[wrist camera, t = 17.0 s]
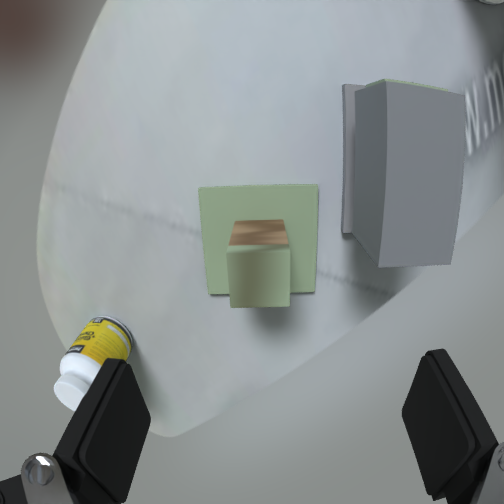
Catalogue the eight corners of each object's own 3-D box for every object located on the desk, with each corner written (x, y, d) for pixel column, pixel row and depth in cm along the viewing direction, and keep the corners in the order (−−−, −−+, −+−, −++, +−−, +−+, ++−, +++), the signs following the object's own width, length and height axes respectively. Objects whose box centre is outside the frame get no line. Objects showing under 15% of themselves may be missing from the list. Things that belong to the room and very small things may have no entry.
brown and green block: (283, 219, 30) (290, 251, 23) (283, 263, 32) (289, 306, 24) (234, 220, 30) (226, 253, 23) (237, 264, 32) (230, 307, 24)
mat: (317, 184, 29) (318, 185, 29) (313, 289, 33) (314, 291, 33) (199, 187, 30) (198, 188, 29) (209, 291, 34) (208, 294, 33)
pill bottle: (117, 308, 35) (74, 372, 24) (143, 349, 37) (112, 418, 27) (80, 319, 36) (36, 378, 25) (106, 358, 38) (72, 420, 28)
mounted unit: (401, 91, 25) (464, 81, 15) (395, 229, 31) (447, 276, 20) (342, 85, 26) (385, 65, 15) (340, 229, 31) (376, 281, 21)
